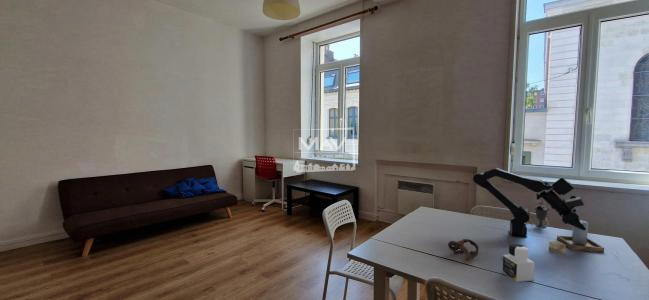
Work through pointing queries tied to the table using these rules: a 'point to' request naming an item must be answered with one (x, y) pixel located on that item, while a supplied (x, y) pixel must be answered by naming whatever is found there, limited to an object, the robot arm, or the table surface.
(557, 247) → the beech cube
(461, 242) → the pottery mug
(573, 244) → the tray
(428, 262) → the table surface
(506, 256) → the white stepped box
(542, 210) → the sundae
